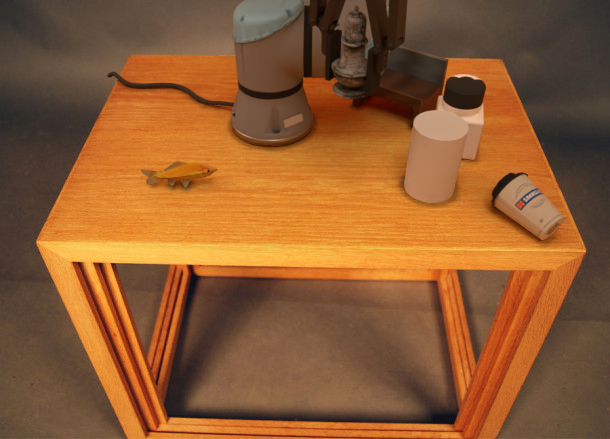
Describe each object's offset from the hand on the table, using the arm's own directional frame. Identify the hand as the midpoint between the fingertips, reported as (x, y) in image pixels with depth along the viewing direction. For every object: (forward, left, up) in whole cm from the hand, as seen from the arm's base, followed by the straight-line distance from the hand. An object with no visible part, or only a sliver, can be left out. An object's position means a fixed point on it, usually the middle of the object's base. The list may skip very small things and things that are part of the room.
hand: (351, 83), depth 79 cm
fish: (-22, -15, -20) cm, 33 cm away
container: (+9, +22, -20) cm, 30 cm away
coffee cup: (+31, +8, -17) cm, 36 cm away
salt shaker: (0, 0, -1) cm, 1 cm away
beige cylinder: (+11, +9, -20) cm, 24 cm away
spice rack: (-5, +27, -19) cm, 34 cm away
